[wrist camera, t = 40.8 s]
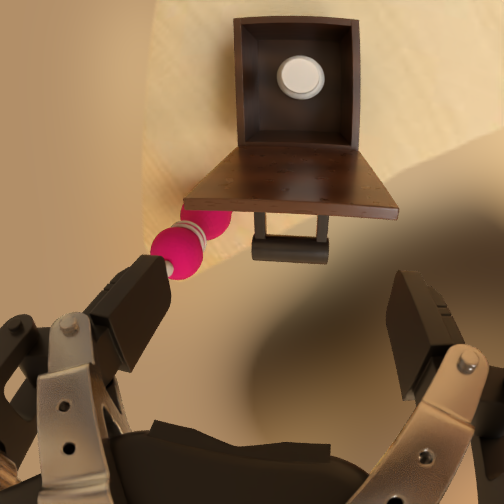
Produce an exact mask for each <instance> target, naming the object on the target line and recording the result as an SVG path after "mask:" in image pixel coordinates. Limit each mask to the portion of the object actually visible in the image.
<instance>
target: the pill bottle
mask: <svg viewBox="0 0 504 504" xmlns="http://www.w3.org/2000/svg"><path fill="white" fill-rule="evenodd" d="M277 82H278V85H279V87H280V89H281V90H282V91H283V92H284V93H285V94H286V95H287V96H289V97H291V98H294V99H299V100H305V99H309V98H312V97H314V96H316V95H317V94H318V93H319V92H320V91H321V89H322V88H323V85H324V82H325V76H324V72H323V70H322V68H321V66H320V65H319V64H318V63H317V62H316V61H315V60H314V59H312V58H310V57H307V56H293V57H290V58H288V59H286V60H285V61H284V62H283V63H282V64H281V65H280V67H279V69H278V71H277Z"/></svg>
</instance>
